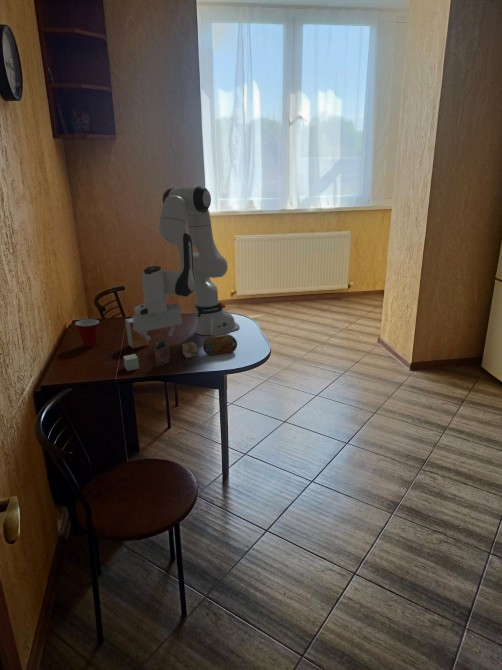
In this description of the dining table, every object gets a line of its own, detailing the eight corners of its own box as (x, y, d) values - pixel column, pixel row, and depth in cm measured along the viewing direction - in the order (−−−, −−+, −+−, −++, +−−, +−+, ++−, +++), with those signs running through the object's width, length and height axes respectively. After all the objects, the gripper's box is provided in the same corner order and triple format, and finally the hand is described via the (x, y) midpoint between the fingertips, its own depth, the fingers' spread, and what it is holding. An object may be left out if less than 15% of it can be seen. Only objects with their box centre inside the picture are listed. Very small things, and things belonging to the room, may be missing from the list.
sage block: (136, 364, 200) (135, 353, 198) (139, 368, 196) (137, 357, 194) (124, 367, 198) (123, 356, 196) (127, 371, 194) (125, 360, 192)
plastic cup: (107, 344, 225) (103, 320, 221) (86, 351, 218) (82, 326, 213) (95, 339, 232) (91, 316, 228) (75, 345, 225) (70, 322, 220)
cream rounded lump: (193, 351, 211) (192, 341, 209) (197, 355, 206) (196, 345, 205) (183, 354, 209) (182, 343, 207) (186, 358, 204) (185, 347, 203)
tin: (204, 356, 204) (202, 338, 202) (203, 354, 207) (201, 336, 204) (237, 352, 207) (236, 335, 204) (236, 350, 210) (235, 332, 207)
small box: (133, 349, 217) (129, 322, 213) (128, 345, 222) (124, 319, 218) (149, 344, 221) (146, 318, 217) (144, 341, 226) (141, 315, 222)
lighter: (159, 366, 196) (157, 344, 193) (153, 365, 198) (151, 343, 195) (172, 359, 203) (170, 338, 199) (166, 358, 204) (164, 337, 201)
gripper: (178, 301, 199) (181, 331, 203) (130, 308, 190) (134, 340, 195) (182, 304, 193) (185, 335, 198) (133, 312, 185) (137, 345, 190)
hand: (159, 338), depth 196 cm, fingers open, 8 cm apart
